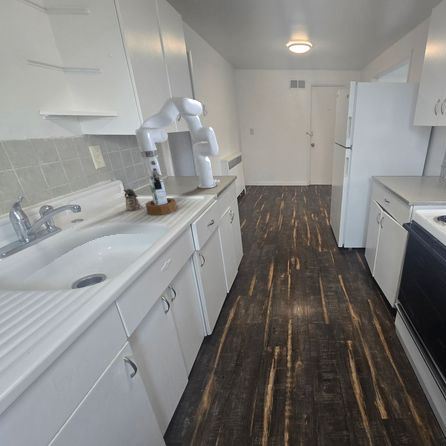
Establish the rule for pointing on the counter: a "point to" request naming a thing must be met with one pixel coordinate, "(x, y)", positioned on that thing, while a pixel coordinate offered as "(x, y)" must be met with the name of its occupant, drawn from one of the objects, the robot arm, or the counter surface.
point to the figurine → (131, 200)
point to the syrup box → (158, 193)
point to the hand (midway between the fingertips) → (157, 187)
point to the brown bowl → (161, 207)
